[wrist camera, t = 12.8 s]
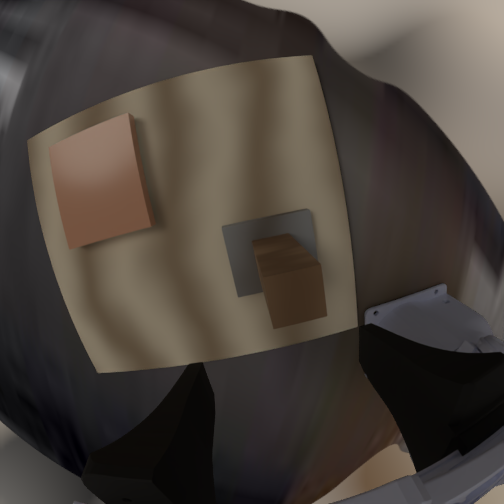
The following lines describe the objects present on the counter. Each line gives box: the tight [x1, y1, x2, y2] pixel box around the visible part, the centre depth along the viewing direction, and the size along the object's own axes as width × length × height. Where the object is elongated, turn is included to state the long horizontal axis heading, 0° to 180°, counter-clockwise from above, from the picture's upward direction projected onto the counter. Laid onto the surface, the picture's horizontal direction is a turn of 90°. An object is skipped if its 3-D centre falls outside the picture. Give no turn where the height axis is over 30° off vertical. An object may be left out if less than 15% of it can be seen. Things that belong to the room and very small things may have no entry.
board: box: [27, 56, 358, 373], centre depth 20 cm, size 24×22×1 cm
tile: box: [49, 113, 156, 250], centre depth 17 cm, size 7×2×8 cm
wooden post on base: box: [222, 208, 327, 329], centre depth 16 cm, size 6×5×8 cm
